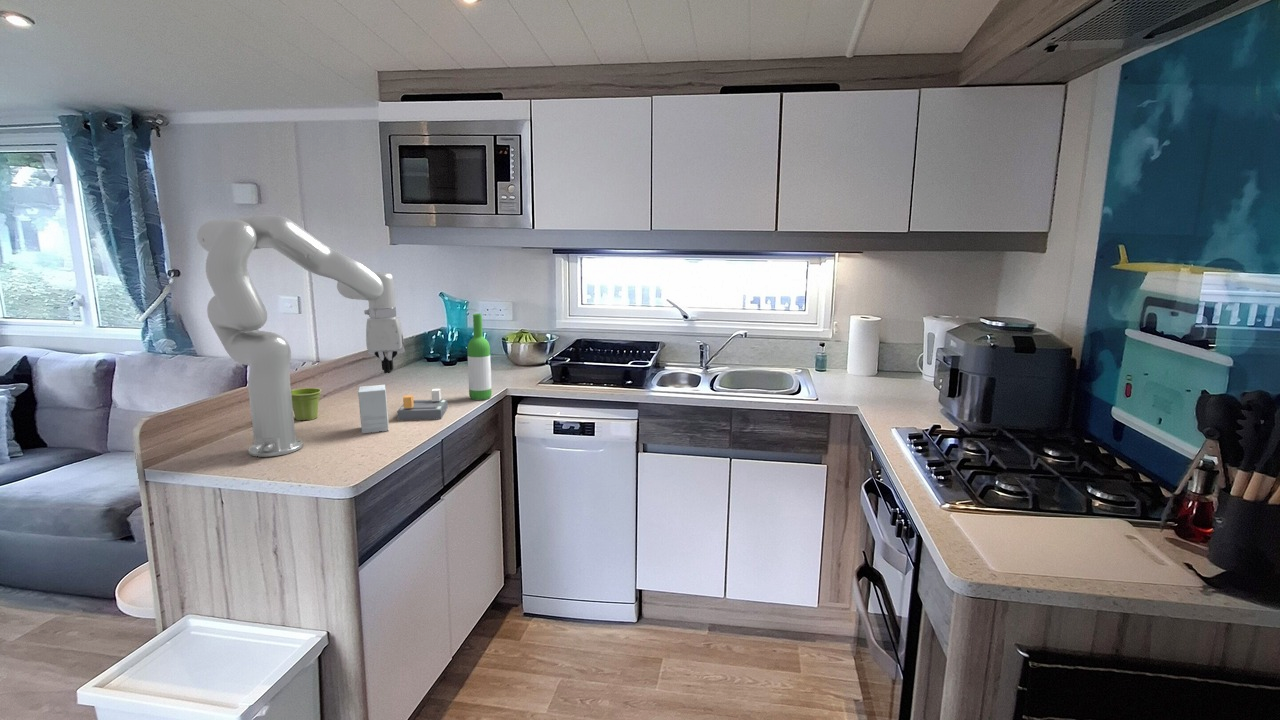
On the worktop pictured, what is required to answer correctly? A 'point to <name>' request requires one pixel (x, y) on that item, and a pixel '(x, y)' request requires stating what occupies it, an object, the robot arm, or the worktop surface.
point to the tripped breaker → (408, 401)
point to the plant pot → (305, 403)
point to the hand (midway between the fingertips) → (388, 372)
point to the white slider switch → (436, 394)
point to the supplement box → (373, 408)
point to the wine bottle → (479, 363)
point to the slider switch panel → (423, 410)
